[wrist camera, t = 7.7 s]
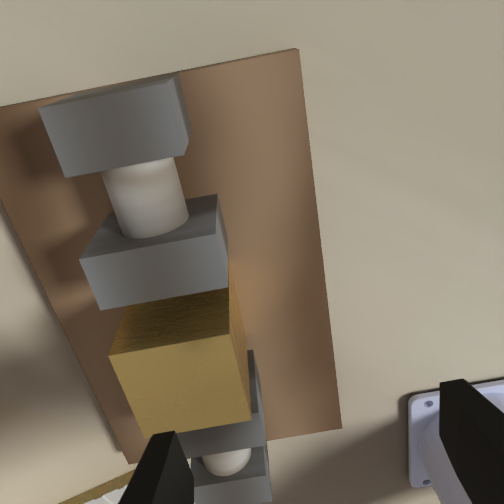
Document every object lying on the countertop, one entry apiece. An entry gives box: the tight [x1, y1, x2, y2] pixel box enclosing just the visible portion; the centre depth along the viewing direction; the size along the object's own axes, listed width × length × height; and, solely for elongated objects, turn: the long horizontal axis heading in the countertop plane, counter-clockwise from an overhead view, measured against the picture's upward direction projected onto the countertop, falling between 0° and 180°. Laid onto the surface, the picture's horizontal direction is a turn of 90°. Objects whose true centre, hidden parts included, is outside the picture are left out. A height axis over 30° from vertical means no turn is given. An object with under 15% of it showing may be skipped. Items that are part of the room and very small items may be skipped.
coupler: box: [108, 260, 252, 439], centre depth 17 cm, size 4×4×5 cm
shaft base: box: [0, 48, 342, 504], centre depth 18 cm, size 12×19×5 cm, turn 10°
